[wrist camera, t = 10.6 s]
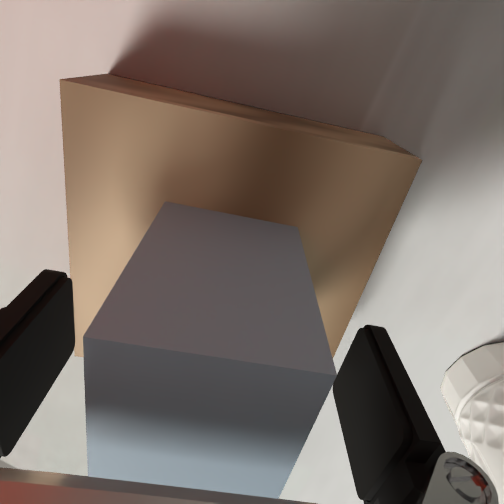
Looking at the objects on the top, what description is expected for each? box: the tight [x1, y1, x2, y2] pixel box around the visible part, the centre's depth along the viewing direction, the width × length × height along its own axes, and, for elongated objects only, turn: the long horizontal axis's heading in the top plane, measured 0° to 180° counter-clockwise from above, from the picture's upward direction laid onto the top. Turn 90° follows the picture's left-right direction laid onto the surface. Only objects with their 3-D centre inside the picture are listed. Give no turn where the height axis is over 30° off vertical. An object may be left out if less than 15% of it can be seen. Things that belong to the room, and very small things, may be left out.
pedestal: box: [60, 74, 422, 358], centre depth 16 cm, size 12×12×4 cm
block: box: [83, 201, 337, 499], centre depth 11 cm, size 5×5×7 cm
